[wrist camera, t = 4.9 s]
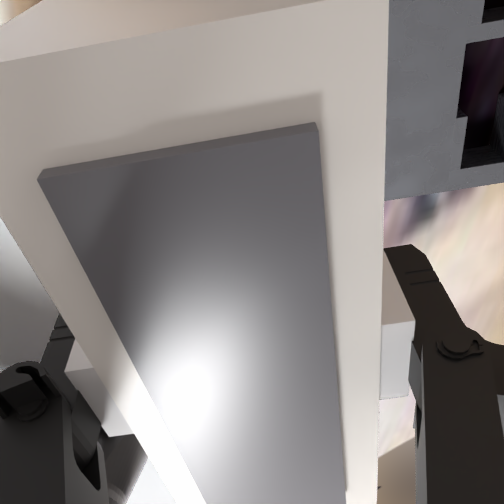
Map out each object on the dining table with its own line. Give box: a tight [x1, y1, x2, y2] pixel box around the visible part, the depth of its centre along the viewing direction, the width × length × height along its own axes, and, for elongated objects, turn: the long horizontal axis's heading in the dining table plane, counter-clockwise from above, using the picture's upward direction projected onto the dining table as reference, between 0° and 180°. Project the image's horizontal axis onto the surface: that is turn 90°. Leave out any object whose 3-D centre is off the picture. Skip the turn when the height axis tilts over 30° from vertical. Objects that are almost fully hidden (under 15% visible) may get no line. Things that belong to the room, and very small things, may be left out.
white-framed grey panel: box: [0, 0, 389, 504], centre depth 14 cm, size 6×15×10 cm, turn 9°
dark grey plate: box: [384, 0, 504, 201], centre depth 26 cm, size 14×20×2 cm
